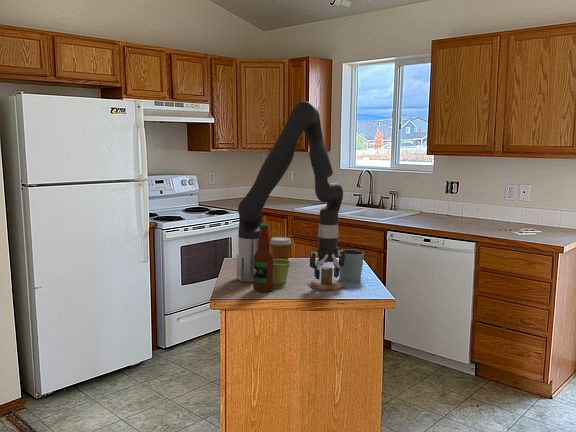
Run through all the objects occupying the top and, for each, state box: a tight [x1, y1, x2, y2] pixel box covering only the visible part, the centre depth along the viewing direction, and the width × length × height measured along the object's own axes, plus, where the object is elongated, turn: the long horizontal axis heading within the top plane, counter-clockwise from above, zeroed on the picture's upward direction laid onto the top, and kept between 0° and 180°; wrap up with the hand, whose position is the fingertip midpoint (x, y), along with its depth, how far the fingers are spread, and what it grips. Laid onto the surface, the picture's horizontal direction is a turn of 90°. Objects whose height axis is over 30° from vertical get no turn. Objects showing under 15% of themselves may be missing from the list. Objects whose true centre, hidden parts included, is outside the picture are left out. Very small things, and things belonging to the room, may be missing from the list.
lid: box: [310, 266, 343, 292], centre depth 200 cm, size 12×12×7 cm
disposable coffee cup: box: [269, 236, 292, 260], centre depth 235 cm, size 10×10×12 cm
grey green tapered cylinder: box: [338, 248, 365, 283], centre depth 211 cm, size 10×10×12 cm
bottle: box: [253, 223, 274, 293], centre depth 194 cm, size 7×7×25 cm
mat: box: [306, 282, 348, 293], centre depth 200 cm, size 12×12×1 cm
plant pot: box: [273, 259, 292, 285], centre depth 205 cm, size 9×9×9 cm
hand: (326, 278), depth 200 cm, fingers open, 7 cm apart
